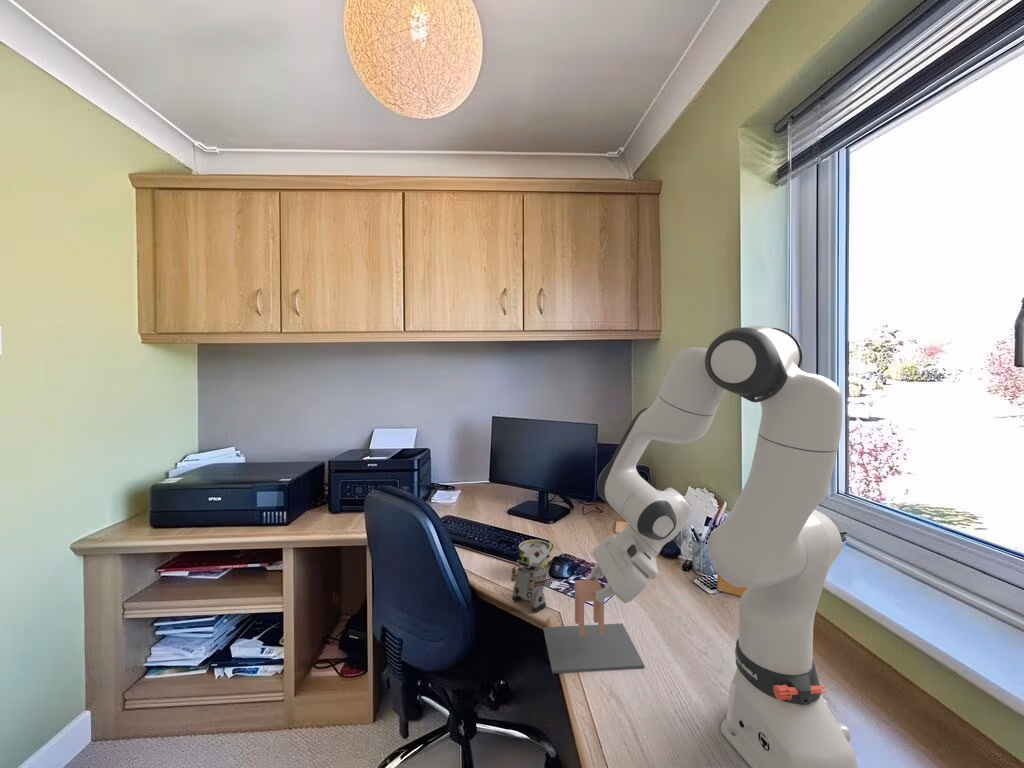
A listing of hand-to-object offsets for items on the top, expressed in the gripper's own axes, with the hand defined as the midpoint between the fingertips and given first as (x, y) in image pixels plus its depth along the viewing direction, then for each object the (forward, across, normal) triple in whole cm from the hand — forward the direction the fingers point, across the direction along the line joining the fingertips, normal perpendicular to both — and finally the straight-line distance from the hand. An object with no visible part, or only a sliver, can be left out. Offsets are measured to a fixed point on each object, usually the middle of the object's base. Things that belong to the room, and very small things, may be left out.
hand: (592, 590), depth 98 cm
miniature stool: (+7, 0, +6) cm, 9 cm away
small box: (-23, -21, +42) cm, 53 cm away
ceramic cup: (+16, -34, +4) cm, 38 cm away
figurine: (+18, -20, +2) cm, 27 cm away
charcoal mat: (+10, 0, +9) cm, 13 cm away
